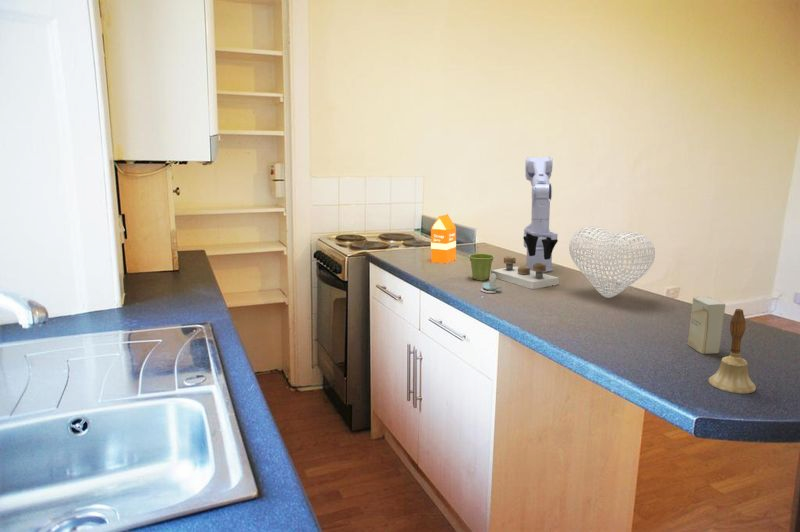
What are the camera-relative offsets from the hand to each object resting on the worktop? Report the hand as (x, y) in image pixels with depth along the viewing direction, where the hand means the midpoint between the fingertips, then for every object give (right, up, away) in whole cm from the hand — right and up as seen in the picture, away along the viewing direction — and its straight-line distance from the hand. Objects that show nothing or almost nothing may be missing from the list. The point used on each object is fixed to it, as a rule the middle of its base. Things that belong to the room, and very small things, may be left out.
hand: (539, 257), depth 193 cm
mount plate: (-4, -8, +9) cm, 13 cm away
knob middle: (-4, -8, +9) cm, 13 cm away
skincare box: (+23, -23, -62) cm, 70 cm away
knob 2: (0, -7, +2) cm, 7 cm away
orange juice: (-30, -1, +47) cm, 56 cm away
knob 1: (-8, -5, +15) cm, 18 cm away
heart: (+18, -13, -16) cm, 27 cm away
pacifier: (-18, -12, -5) cm, 22 cm away
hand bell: (+18, -27, -82) cm, 88 cm away
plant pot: (-19, -8, +13) cm, 24 cm away
